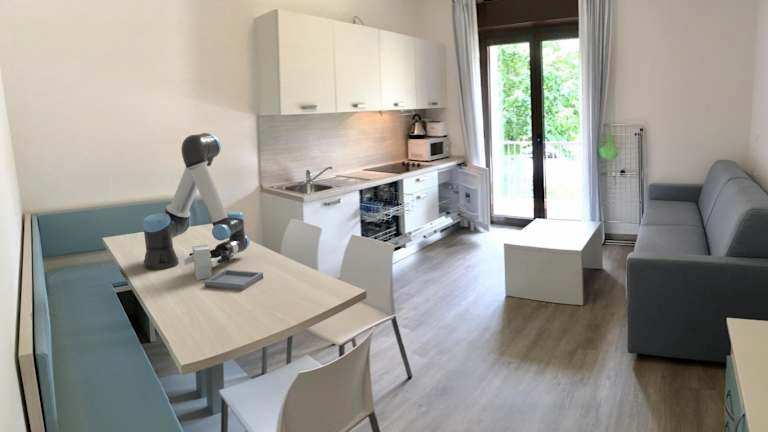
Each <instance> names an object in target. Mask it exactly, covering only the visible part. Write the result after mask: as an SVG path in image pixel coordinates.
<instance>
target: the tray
mask: <svg viewBox="0 0 768 432" xmlns="http://www.w3.org/2000/svg"><path fill="white" fill-rule="evenodd" d="M263 279H264V272H261V271H249V270H248V271H247V270H234V269H225V270H223V271H221V272H219V273H217V274H214V275H212V277H211V278H206V279H204V288H205V287H206V288H213V289H224V290H225V289H226V290H236V291H245V290H247V289H248V288H250V287H251V286H254V284H256V283H258V282H259V281H261V280H263Z"/></svg>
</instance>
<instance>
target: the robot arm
mask: <svg viewBox="0 0 768 432" xmlns="http://www.w3.org/2000/svg"><path fill="white" fill-rule="evenodd" d="M221 146H222V144H221V141H220V139H219V138H218V137H217V136H216V135H215V134H212V133H209V132H203V133H201V134H200V133H199V134H191V135H189V136H186V138H184V140H183V141H182V144H181V147H180V148H181V156H182V159H183V163H184V165H185V168H184V170H183V174H182V175H181V178H180V180H179V184H178V185H177V189H176V191H175V193H174V195H173V198H172V201H171V203H170V204H168V205H166V206H165V210H164V212H163V213H155V214H150V215H148V216H146V217H144V219H143V222H142V223H143V225H142V228H143V234H144V244H145V256H144V259H143V267H145V268H144V269H146V268H147V269H146V270H151V269H153V270H156V271H157V270H164V269H169V268H173V267H175V266H178V265H179V257H178V256H177V253H176V251H175V248H174V245H173V239H174V238H176V237H178V236H180V235H183V234H185V232H187V231H188V229H189V228H190V225H191V219H190V217H191V212H190V208H191V206H192V204H193V201H194V199H195V197H196V193H197V191H198V192H199V194H200V197H201V200H202V203H203V204H204V207H205V210H206V212H207V214H208V216H209V219H210V221H211V224H212V230H211V235H212V236H213V238H214V239H215V240H216V241H223V242H221V243H218V244H217V245H216V246H215V247H214V248H213V249H210V258H211V268H215V267H216V266H218V265H221V264H223V263H230V262H231V260H232V258H233V257H234V256H235V255H237V254H238V253H242V252H244V251H245V250H247V249H248V248H249V246H250V243H251V242H250V239H249V237H248V236H247V235H246V234H245V219H244V214H243V212H241V211H230V212H228V213H227V211H226V209H225V207H224V204H223V201H222V199H221V196H220V194H219V191H218V189H217V186H216V185H215V181H214V179H213V176H212V175H211V172H210V169H209V167H211V165H212V163H213V160H214V159H215V157H218V155H219V154H221V149H222V147H221ZM227 239H228V240H227ZM183 261H184V264H183V265H184V266H187V265H189V264H191V263H194V259H193V252H191V253H189V254H188V256H187V257H184V258H183ZM153 270H152V271H153Z"/></svg>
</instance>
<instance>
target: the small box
mask: <svg viewBox="0 0 768 432" xmlns="http://www.w3.org/2000/svg"><path fill="white" fill-rule="evenodd" d="M210 250H211V249H210V247H209V246H208V244H202V245H201V244H200V245H194V246H192V253H193V259H194V262H193V267H194V268H193V269H194V275H195V278H196V280H197V281H199V280H207V279H209V278H211V277H213V272H212V264H211V261H212V258H210V257H211V254H210Z"/></svg>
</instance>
